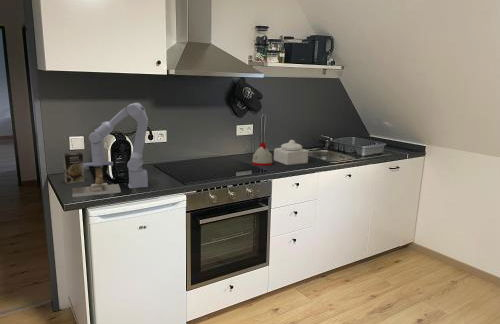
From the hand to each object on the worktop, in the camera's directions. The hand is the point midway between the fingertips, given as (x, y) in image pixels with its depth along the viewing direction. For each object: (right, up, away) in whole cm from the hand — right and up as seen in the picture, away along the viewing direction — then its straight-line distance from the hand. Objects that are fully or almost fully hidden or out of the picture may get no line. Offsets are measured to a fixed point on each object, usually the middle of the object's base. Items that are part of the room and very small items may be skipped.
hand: (99, 179), depth 205 cm
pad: (0, -4, +1) cm, 4 cm away
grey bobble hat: (+88, +8, +62) cm, 108 cm away
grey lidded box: (+109, +9, +70) cm, 130 cm away
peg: (0, -2, 0) cm, 2 cm away
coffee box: (-16, -2, +8) cm, 18 cm away
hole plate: (+3, -6, -10) cm, 12 cm away
